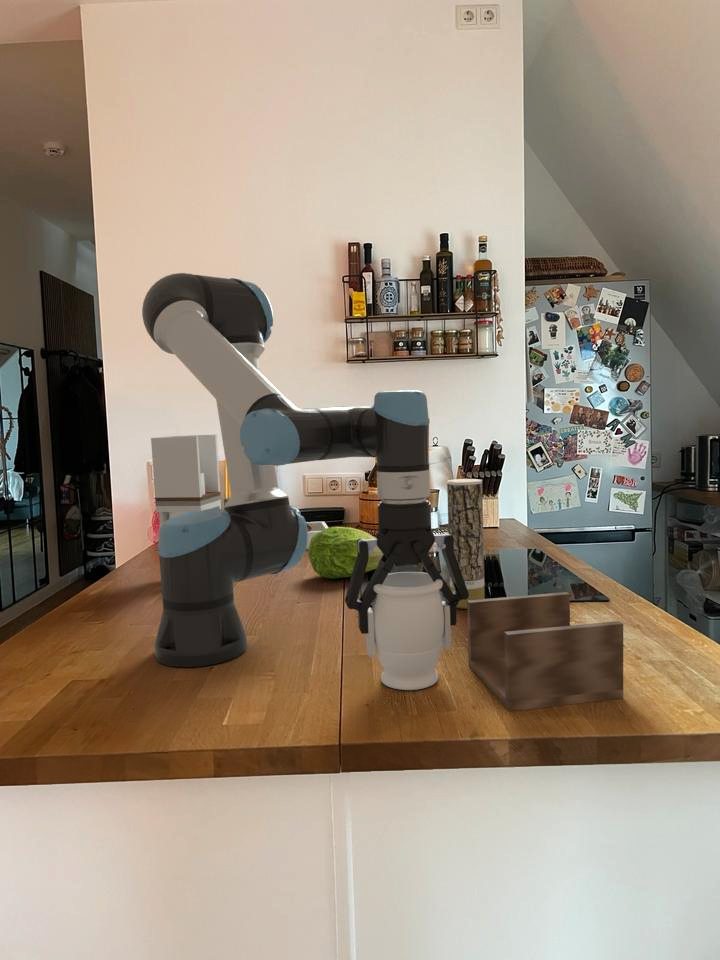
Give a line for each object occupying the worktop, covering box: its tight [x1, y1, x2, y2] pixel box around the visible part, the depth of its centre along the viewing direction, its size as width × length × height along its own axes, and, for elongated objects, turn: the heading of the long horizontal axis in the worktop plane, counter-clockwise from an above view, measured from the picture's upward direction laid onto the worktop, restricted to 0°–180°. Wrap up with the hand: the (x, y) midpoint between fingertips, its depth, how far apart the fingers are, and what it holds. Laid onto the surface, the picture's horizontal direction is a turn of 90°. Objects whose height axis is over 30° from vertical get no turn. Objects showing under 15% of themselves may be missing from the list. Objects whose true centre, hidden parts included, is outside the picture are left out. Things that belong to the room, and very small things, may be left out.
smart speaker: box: [388, 564, 422, 574], centre depth 154 cm, size 9×9×4 cm
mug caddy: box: [305, 520, 329, 551], centre depth 207 cm, size 16×18×5 cm
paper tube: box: [446, 478, 486, 610], centre depth 135 cm, size 7×7×25 cm
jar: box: [371, 571, 444, 691], centre depth 99 cm, size 11×10×15 cm
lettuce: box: [307, 526, 383, 580], centre depth 166 cm, size 13×22×14 cm
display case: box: [150, 434, 222, 588], centre depth 163 cm, size 11×11×35 cm
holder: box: [466, 591, 624, 712], centre depth 98 cm, size 16×16×10 cm
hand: (408, 650), depth 100 cm, fingers closed on jar, 10 cm apart
